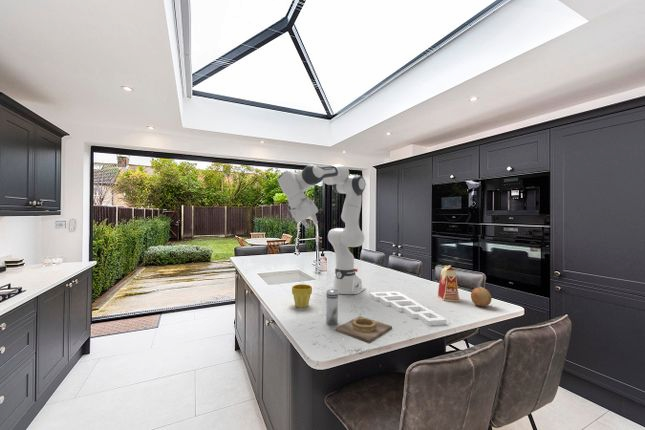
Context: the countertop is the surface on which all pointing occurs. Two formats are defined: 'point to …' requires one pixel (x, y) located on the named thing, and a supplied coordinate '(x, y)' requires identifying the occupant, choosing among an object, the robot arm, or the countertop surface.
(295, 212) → the robot arm
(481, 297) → the onion
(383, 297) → the holder
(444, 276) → the milk carton
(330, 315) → the piston
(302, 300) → the plant pot
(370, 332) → the ring stand
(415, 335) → the countertop surface
